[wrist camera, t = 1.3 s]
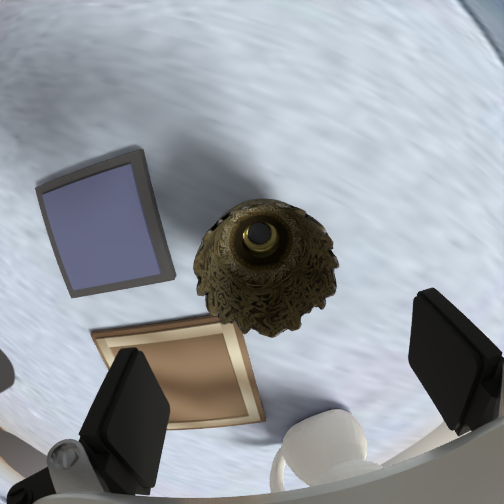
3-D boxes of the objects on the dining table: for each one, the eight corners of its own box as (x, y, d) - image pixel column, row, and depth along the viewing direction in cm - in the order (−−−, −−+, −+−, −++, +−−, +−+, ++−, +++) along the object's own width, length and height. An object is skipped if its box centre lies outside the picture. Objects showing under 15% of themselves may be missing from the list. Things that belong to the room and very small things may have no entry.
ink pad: (41, 186, 21) (33, 188, 20) (143, 149, 21) (138, 149, 20) (75, 293, 24) (69, 300, 23) (176, 275, 24) (173, 281, 23)
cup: (251, 296, 25) (255, 359, 17) (188, 227, 23) (163, 268, 15) (327, 240, 23) (364, 284, 16) (268, 162, 21) (282, 171, 14)
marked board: (92, 331, 26) (89, 335, 25) (236, 310, 25) (236, 314, 25) (146, 427, 30) (145, 431, 30) (265, 418, 30) (266, 422, 29)
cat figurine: (375, 419, 31) (415, 519, 17) (289, 462, 33) (303, 559, 19) (343, 384, 29) (388, 509, 14) (247, 435, 31) (250, 551, 17)
